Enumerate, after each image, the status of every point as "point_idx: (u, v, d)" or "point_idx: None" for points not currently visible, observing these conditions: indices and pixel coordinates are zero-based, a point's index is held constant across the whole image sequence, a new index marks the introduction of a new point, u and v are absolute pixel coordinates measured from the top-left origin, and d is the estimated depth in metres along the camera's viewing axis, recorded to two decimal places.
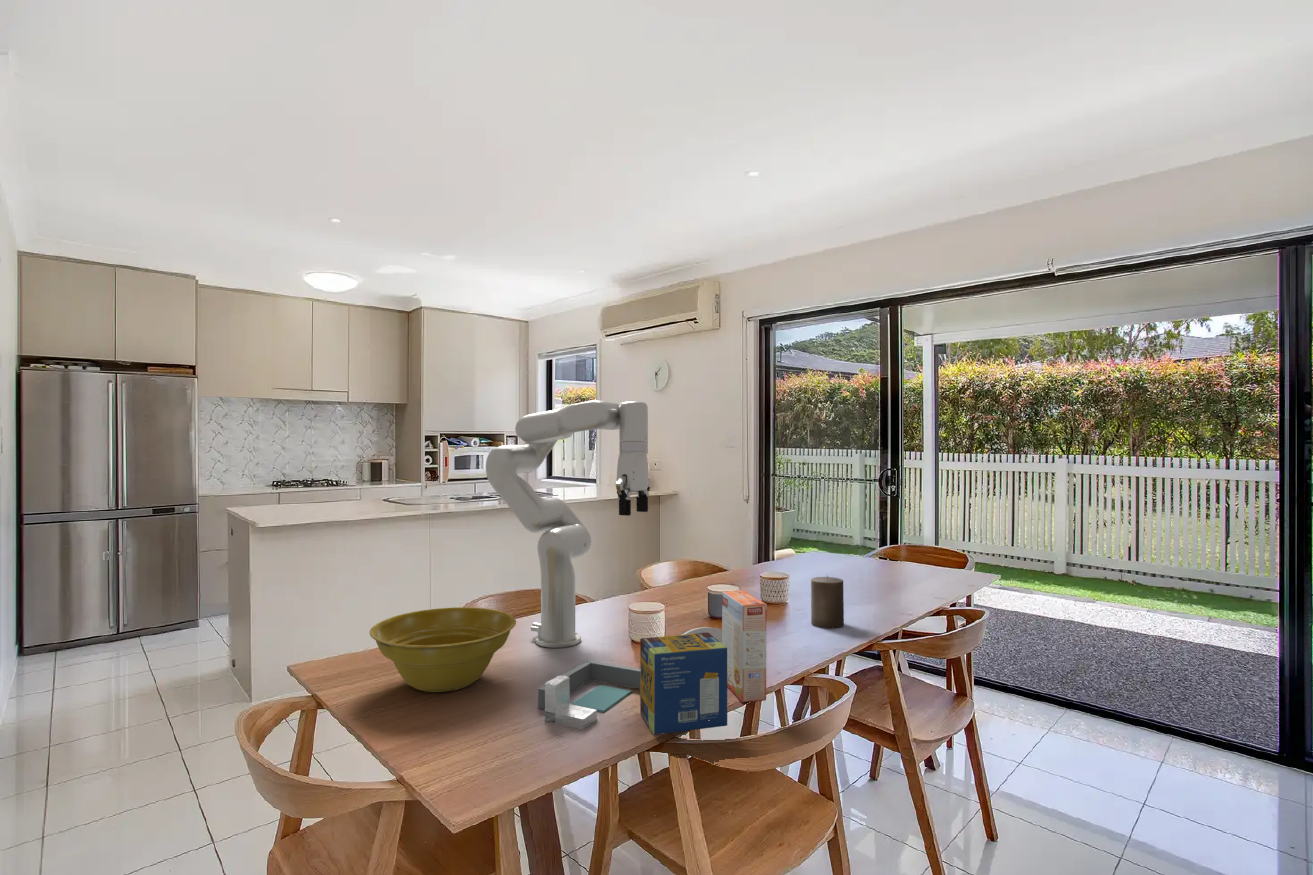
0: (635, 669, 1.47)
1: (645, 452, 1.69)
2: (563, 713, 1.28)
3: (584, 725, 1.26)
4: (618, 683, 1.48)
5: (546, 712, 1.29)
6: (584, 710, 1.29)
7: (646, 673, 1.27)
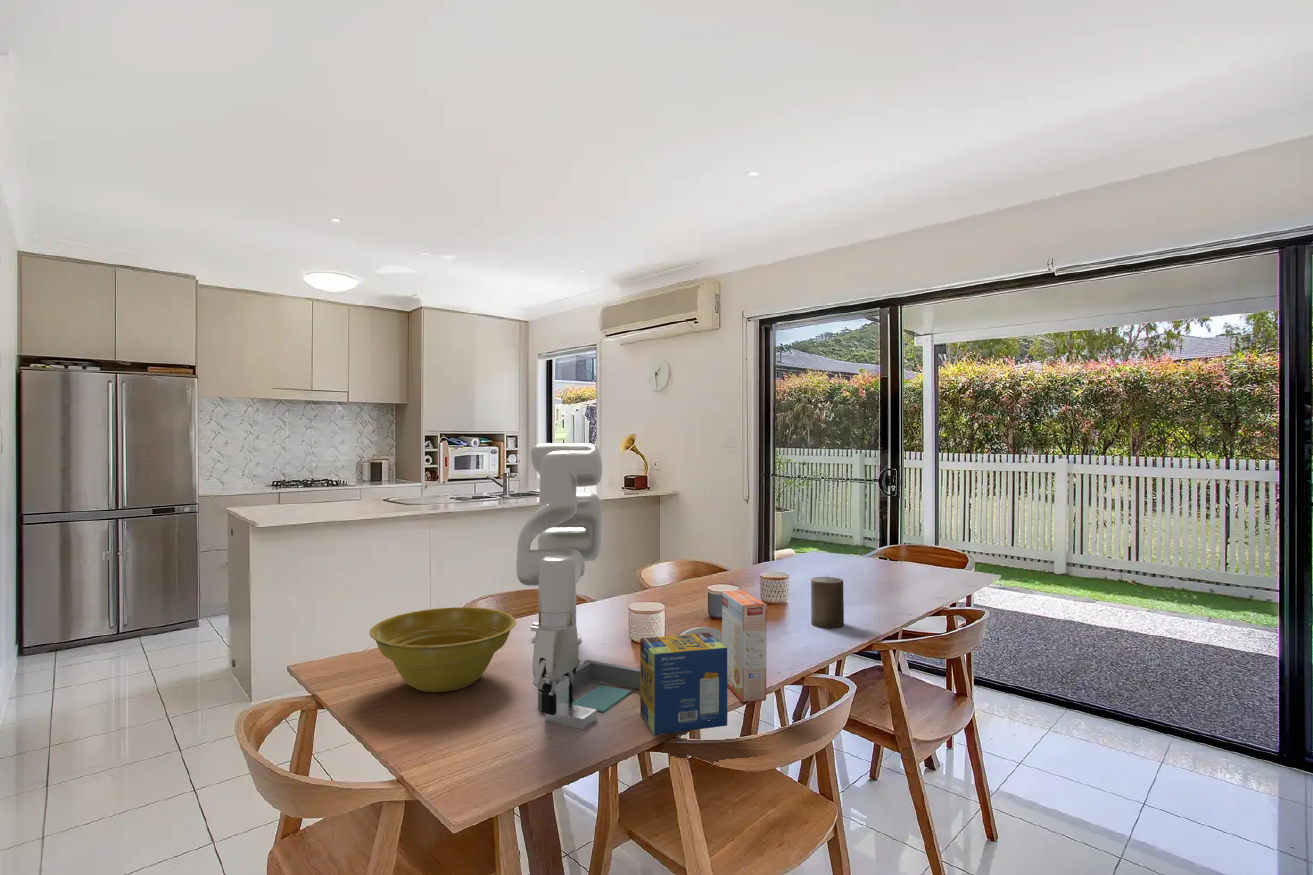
0: (635, 669, 1.47)
1: (571, 625, 1.29)
2: (563, 712, 1.28)
3: (584, 725, 1.26)
4: (618, 683, 1.48)
5: None
6: (584, 710, 1.29)
7: (646, 673, 1.27)
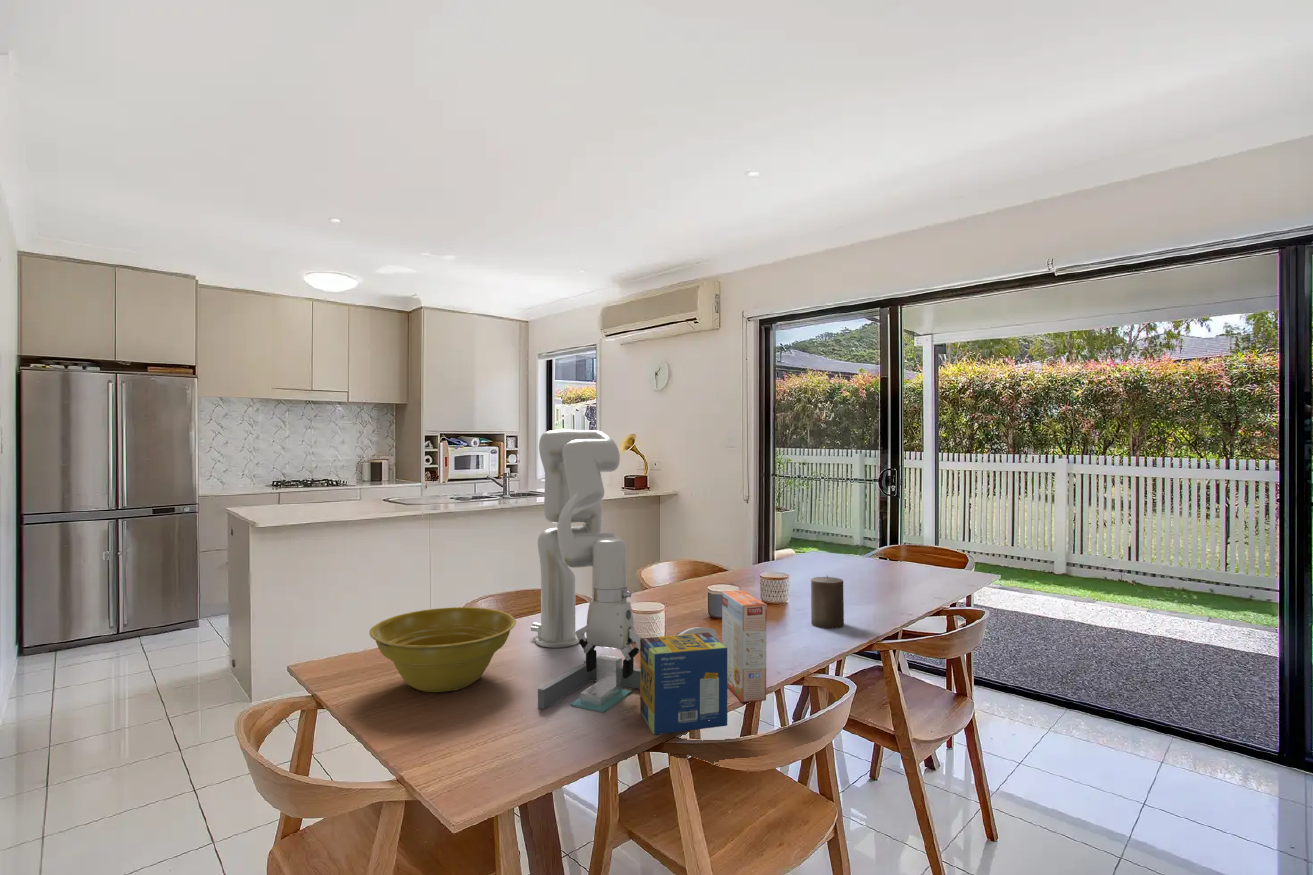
0: (635, 669, 1.47)
1: (599, 602, 1.40)
2: (596, 685, 1.42)
3: (582, 700, 1.37)
4: None
5: None
6: (600, 692, 1.38)
7: (646, 673, 1.27)
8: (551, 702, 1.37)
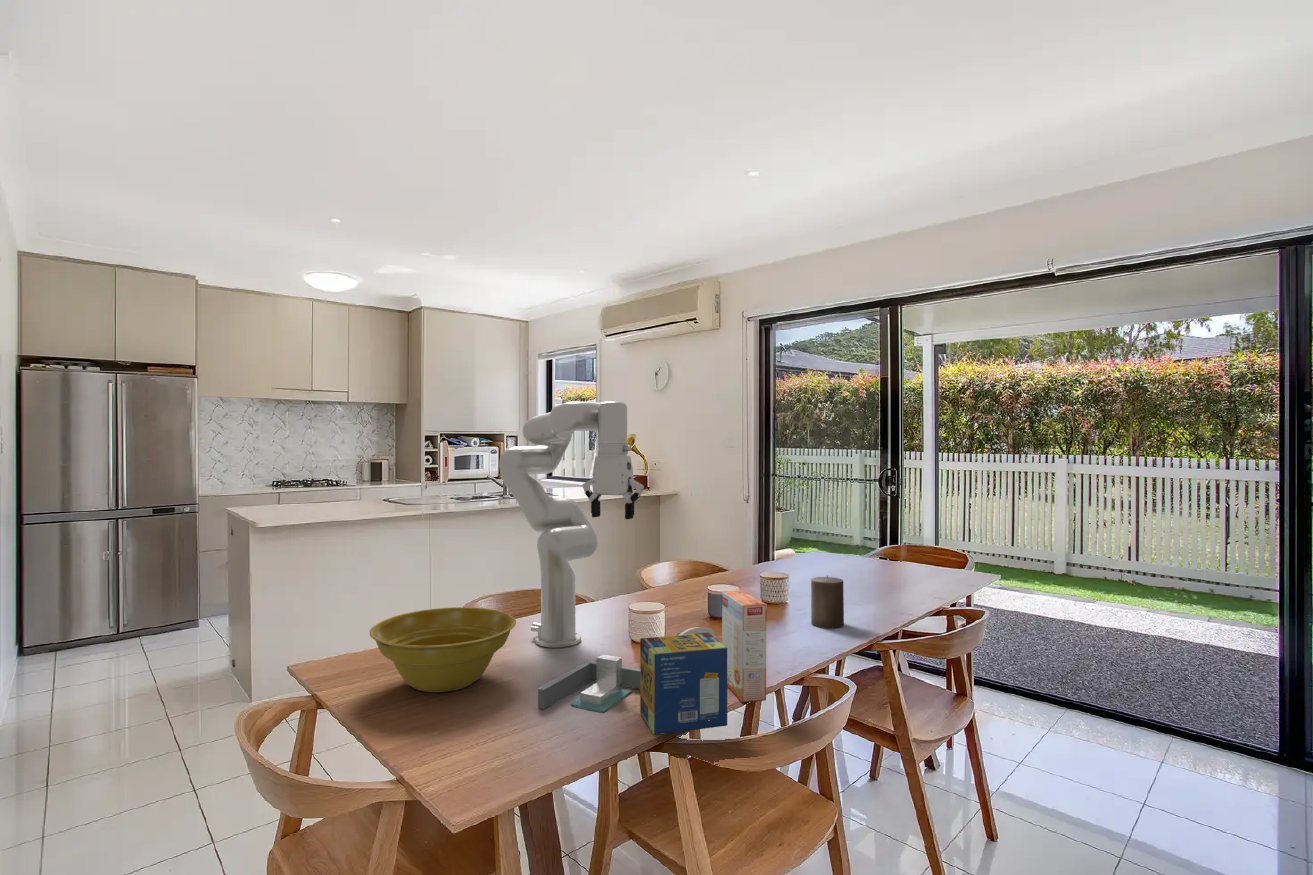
0: (635, 669, 1.47)
1: (603, 454, 1.62)
2: (596, 685, 1.42)
3: (582, 700, 1.37)
4: None
5: None
6: (600, 692, 1.38)
7: (646, 673, 1.27)
8: (551, 702, 1.37)
